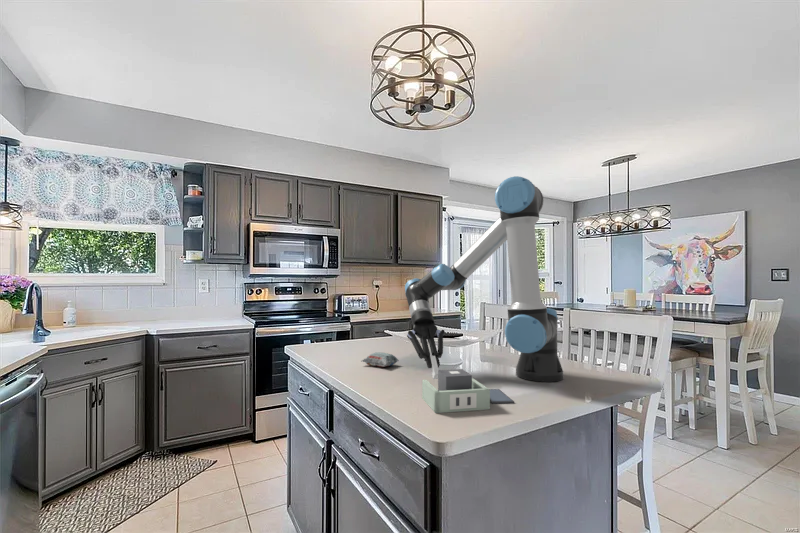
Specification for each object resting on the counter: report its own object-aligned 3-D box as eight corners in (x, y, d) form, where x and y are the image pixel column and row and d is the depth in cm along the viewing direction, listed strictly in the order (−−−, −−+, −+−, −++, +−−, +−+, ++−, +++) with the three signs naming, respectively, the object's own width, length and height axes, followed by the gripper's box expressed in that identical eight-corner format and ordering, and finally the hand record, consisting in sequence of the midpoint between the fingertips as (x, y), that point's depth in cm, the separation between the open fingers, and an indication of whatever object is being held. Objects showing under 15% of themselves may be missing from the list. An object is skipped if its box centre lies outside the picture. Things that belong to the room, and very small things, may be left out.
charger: (462, 398, 108) (462, 368, 108) (471, 406, 101) (471, 375, 101) (438, 399, 106) (438, 369, 106) (446, 408, 99) (446, 376, 100)
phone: (499, 392, 115) (498, 388, 115) (514, 405, 103) (514, 401, 103) (479, 392, 115) (479, 389, 115) (492, 405, 103) (492, 401, 103)
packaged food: (385, 370, 140) (385, 356, 140) (360, 366, 146) (360, 353, 146) (399, 366, 147) (399, 353, 147) (374, 362, 153) (374, 349, 154)
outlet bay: (471, 394, 110) (471, 377, 110) (490, 409, 98) (490, 389, 98) (422, 398, 107) (422, 379, 107) (435, 413, 95) (435, 392, 95)
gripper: (437, 322, 139) (453, 381, 123) (401, 323, 137) (413, 384, 120) (441, 308, 134) (459, 368, 118) (405, 309, 132) (418, 370, 115)
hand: (436, 376), depth 119 cm, fingers closed
